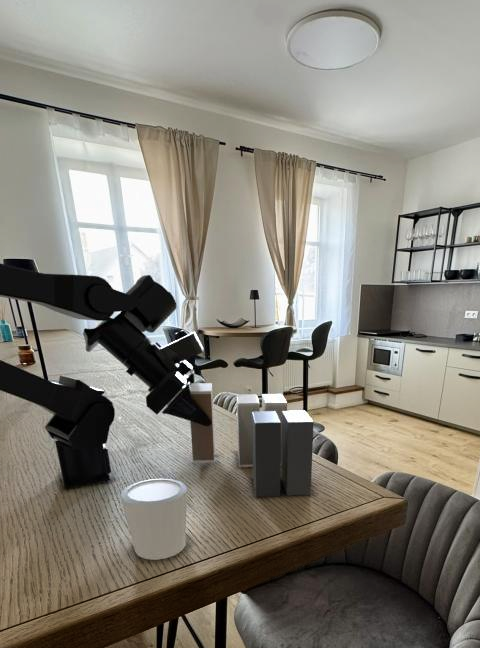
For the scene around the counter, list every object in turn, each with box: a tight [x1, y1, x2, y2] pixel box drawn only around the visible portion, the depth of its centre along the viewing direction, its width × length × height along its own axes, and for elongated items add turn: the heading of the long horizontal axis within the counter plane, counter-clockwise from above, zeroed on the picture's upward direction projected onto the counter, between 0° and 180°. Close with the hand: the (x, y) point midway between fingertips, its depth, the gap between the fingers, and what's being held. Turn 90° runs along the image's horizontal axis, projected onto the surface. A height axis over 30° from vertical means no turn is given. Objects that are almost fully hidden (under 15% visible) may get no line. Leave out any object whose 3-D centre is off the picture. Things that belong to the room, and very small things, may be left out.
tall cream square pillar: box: [189, 382, 216, 464], centre depth 70 cm, size 4×7×12 cm, turn 8°
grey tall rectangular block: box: [236, 393, 261, 468], centre depth 71 cm, size 4×7×11 cm, turn 7°
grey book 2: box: [280, 410, 315, 497], centre depth 61 cm, size 4×6×11 cm, turn 7°
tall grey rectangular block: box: [252, 410, 281, 498], centre depth 60 cm, size 4×6×11 cm, turn 7°
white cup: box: [120, 478, 188, 561], centre depth 46 cm, size 7×7×7 cm
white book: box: [261, 393, 288, 467], centre depth 72 cm, size 4×7×11 cm, turn 7°
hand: (210, 418), depth 70 cm, fingers closed on tall cream square pillar, 7 cm apart
